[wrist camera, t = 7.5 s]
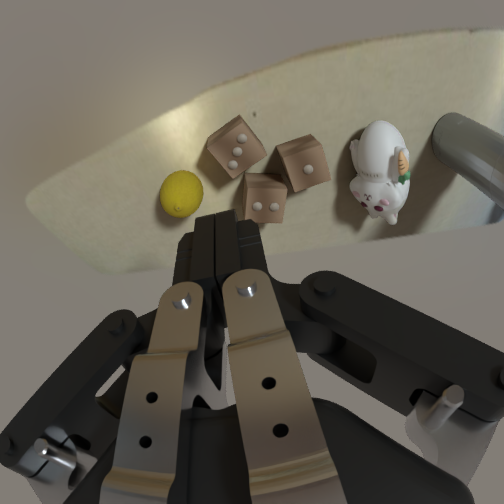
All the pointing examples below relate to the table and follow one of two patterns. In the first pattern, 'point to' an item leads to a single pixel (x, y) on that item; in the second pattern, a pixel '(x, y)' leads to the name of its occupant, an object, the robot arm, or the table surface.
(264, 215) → the block two dots
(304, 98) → the table surface
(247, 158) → the block three dots
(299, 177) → the block one dot
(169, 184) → the lemon
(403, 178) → the cat figurine
